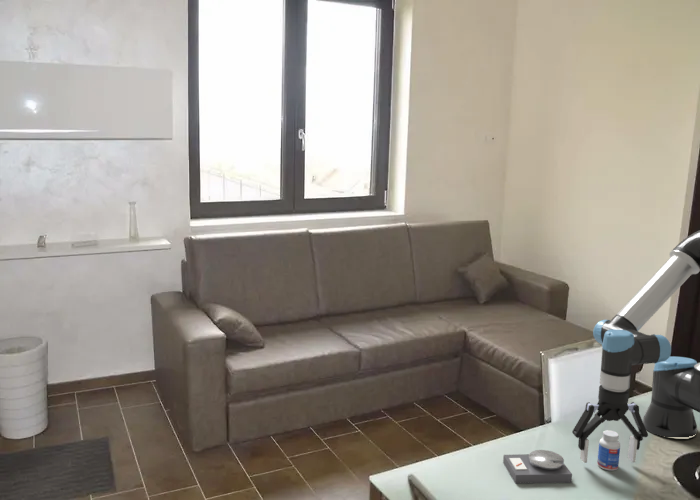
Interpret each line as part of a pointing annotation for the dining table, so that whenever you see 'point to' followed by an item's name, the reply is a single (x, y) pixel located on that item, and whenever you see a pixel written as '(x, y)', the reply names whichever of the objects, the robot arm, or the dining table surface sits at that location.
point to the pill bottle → (609, 451)
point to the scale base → (534, 471)
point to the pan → (546, 459)
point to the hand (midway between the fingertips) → (607, 460)
